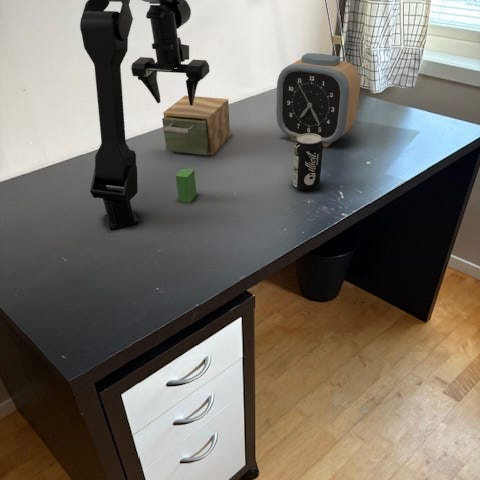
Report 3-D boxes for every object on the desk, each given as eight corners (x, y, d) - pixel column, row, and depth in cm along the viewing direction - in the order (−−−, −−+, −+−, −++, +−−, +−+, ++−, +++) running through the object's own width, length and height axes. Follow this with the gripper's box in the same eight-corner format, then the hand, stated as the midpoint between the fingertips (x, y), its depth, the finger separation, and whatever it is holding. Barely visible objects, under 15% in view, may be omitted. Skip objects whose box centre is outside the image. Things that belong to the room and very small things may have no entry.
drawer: (200, 162, 128) (197, 129, 122) (158, 157, 131) (154, 124, 125) (224, 136, 140) (222, 105, 134) (185, 133, 143) (182, 102, 138)
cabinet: (212, 155, 133) (209, 116, 126) (168, 150, 136) (163, 112, 129) (230, 135, 143) (228, 98, 136) (188, 131, 147) (185, 95, 139)
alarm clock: (275, 138, 140) (276, 57, 126) (290, 127, 146) (292, 48, 132) (340, 151, 132) (349, 65, 117) (353, 139, 138) (363, 56, 123)
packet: (196, 195, 116) (194, 169, 111) (190, 202, 113) (187, 177, 108) (185, 193, 116) (182, 168, 112) (178, 201, 114) (175, 175, 109)
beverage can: (324, 185, 117) (329, 137, 109) (308, 195, 113) (312, 146, 105) (303, 178, 120) (306, 130, 112) (287, 187, 117) (288, 138, 109)
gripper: (214, 27, 115) (219, 94, 126) (144, 25, 119) (155, 90, 130) (197, 41, 107) (204, 111, 119) (123, 38, 112) (137, 106, 123)
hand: (175, 103), depth 123 cm, fingers open, 9 cm apart
